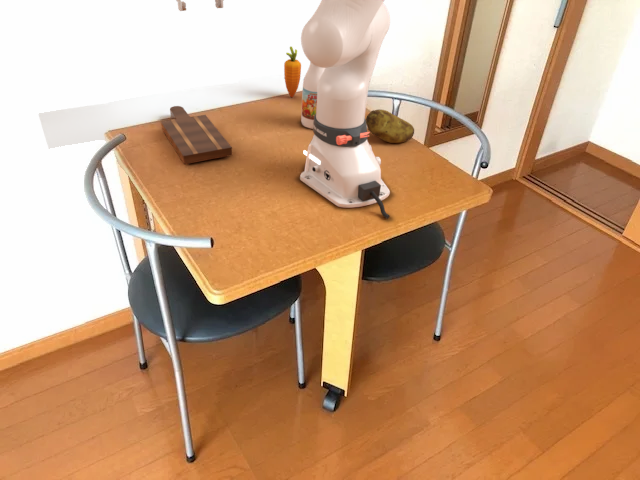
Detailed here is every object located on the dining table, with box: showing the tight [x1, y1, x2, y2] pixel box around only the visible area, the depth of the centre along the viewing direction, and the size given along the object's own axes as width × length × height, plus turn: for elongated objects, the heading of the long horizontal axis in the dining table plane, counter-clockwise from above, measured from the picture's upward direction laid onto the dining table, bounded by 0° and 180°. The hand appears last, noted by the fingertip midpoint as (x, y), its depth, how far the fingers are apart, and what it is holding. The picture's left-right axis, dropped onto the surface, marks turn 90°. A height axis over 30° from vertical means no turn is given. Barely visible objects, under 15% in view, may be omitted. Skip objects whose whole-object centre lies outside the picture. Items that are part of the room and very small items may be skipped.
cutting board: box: [160, 105, 233, 165], centre depth 142 cm, size 28×12×3 cm, turn 28°
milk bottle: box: [300, 61, 325, 130], centre depth 148 cm, size 8×8×20 cm
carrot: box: [283, 46, 302, 98], centre depth 164 cm, size 5×5×15 cm
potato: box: [365, 108, 415, 144], centre depth 147 cm, size 8×13×8 cm, turn 73°
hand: (201, 8), depth 136 cm, fingers open, 8 cm apart
